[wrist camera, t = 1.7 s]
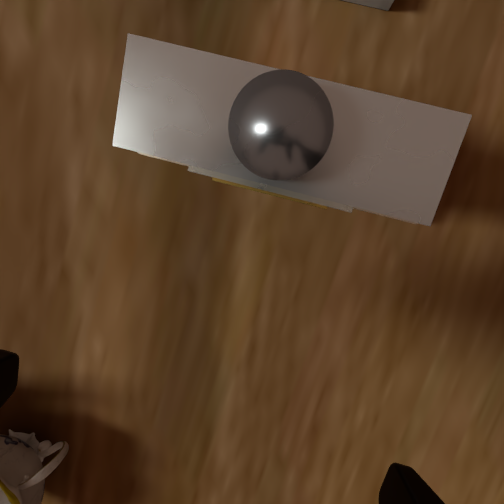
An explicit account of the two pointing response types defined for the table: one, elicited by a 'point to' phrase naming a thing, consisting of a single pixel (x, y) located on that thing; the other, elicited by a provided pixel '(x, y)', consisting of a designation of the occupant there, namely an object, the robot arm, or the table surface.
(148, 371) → the table surface
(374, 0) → the tray
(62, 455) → the chinaware
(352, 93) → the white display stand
